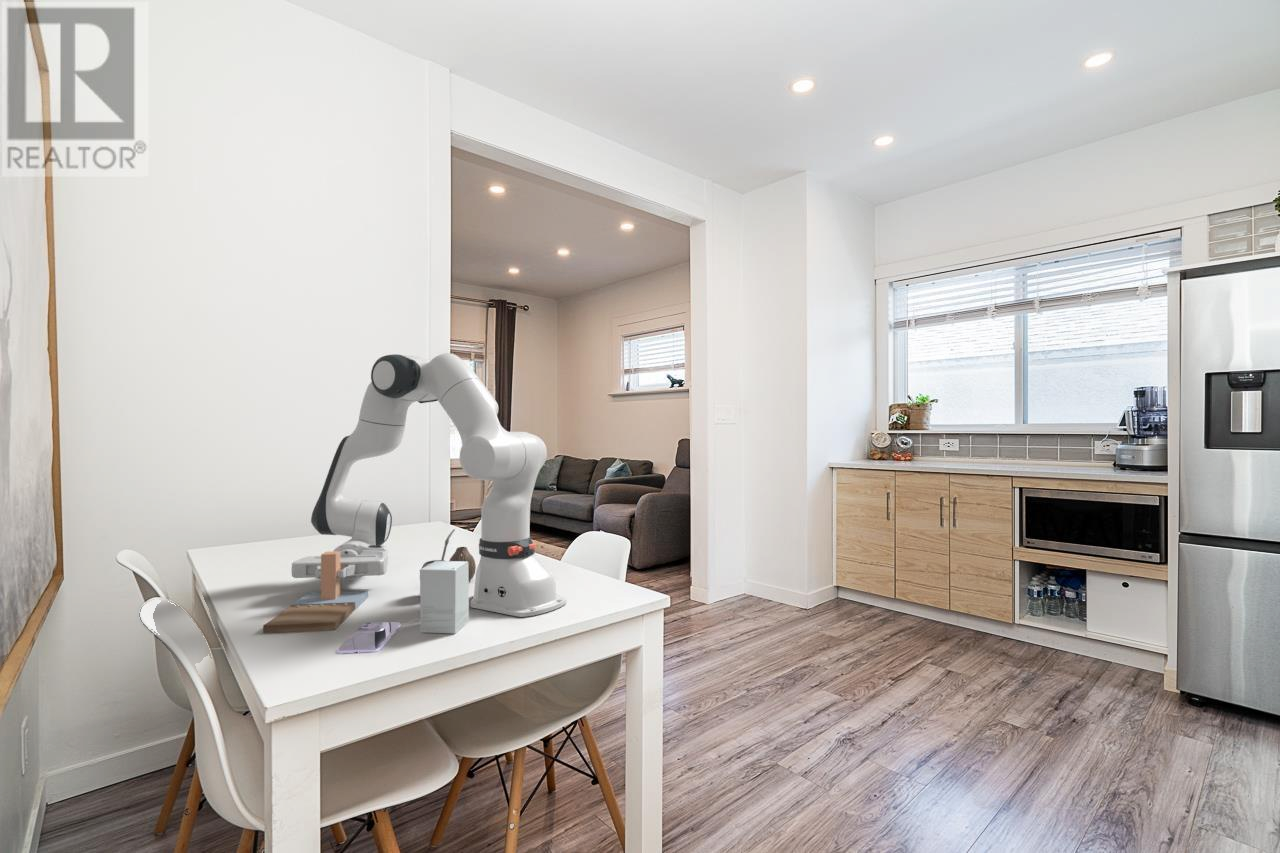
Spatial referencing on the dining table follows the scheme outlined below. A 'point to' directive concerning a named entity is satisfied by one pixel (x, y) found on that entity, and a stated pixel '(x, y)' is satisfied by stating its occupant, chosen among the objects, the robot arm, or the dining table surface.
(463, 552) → the vase
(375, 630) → the mobile phone
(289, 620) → the board
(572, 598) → the dining table surface
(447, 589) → the supplement box
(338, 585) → the stub
